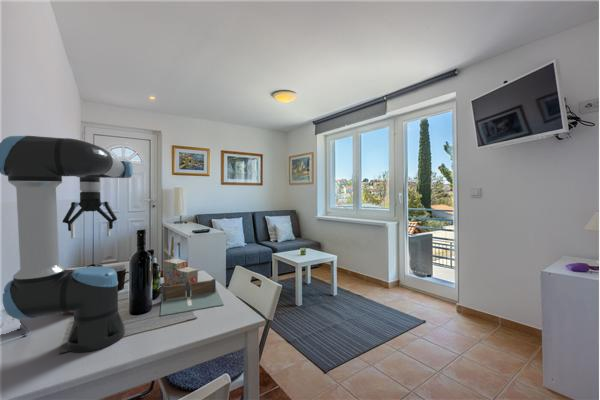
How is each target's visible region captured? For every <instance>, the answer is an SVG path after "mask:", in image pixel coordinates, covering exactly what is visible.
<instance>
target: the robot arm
mask: <svg viewBox="0 0 600 400" xmlns="http://www.w3.org/2000/svg"><path fill="white" fill-rule="evenodd" d="M0 174H1V175H2V176H7V179H8V181H7V182H8V183H9V184H11V185H12V186H14V187H15V190H16V209H17V210H16V212H17V228H18V229H17V230H18V231H17V232H18V234H17V235H18V252H19V270H17V272H16V273H14V274H13V276H12V280H10V281H8V282H7V283H6V284H5V286H4V288H3V291H4V293H3V294H2V305H3V309H4V311H5V312H6V313H7V315H8V316H9V317H11V318H14V319H16V320H22V319H36V318H40V317H47V316H53V315H59V314H62V313H68V312H73V313H74V314H73V323H72V325H71V328H70V332H69V335H68V336H67V341H66V348H67V350H68V351H69V352H71V353H86V352H92V351H98V350H100V349H103V348H107V347H109V346H111V345H114V343H116V342H118V341H120V340H121V339H122V338H124V336H125V332H126V328H125V327H126V326H125V324H124V323H125V322H124V321H123V319H122V317H121V315H120V312H119V293H118V292H119V291H118V281H117V273H116V271H115V270H114V269H112V268H113V267H108V266H103V267H99V266H94V267H92V266H90V267H87V266H85V267H83V266H82V267H79V268H76V270H75V269H73V270H74V271H73V273H72V274H66V270H67V269H66V267H65V266H64V265H62V264H60V257H59V256H60V255H59V254H60V252H59V232H58V213H57V212H58V207H57V206H58V205H57V191H56V190H57V187H58V186H60V184H62V183H63V177H76V178H79V191H80V192H79V202H76V201H71V204H70V208H69V209H68V210H67V212H66V214H65V216H64V217H63V220H62V223H65V224H66V225H67V231H68V232H70V239H75V238H76V224H75V223H74V222H75V221H76V220H77V219H79V217H80V216H81V215H83V213H84V212H86V213H87V212H98V213H99V214H100V215H101V216H102V217H103V218H104V219H105V220H106V221H107V222H106V237H111V230H112V229H113V228H114V224H113V223H114V222H116V221H118V218H117V216H116V215H115V213H114V211H113V210H112V208H111V207H110V203H109V201H103V202H102V201H101V192H100V191H101V179H102V178H103V179H106V178H108V179H109V178H112V179H129V178H132V177H133V164H132V162H131V161H125V160H122V161H121V160H119V159H116V158H114V157H113V156H112V155H111V153H110V152H109V151H108V150H107V149H105V148H102V147H101V146H99V145H97V144H93V143H91V142H88V141H84V140H81V139H77V138H76V139H75V138H70V137H69V138H68V137H66V138H65V137H64V138H63V137H52V136H51V137H50V136H40V135H39V136H37V135H11V136H7V137H5V138H3V139H2V141H1V142H0ZM78 206H79V207H80V209H79V210H78V211H77V212H76V213H75V214H74V215H73V216H72V214H73V213H74V212H75V209H76V208H77V207H78ZM101 206H103V207H105V210H106V211H107V212H108V214H109V215H108V214H107V213H106V212H105V211H104V210H103V208H101Z"/></svg>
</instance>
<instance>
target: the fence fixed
mask: <svg viewBox="0 0 600 400" xmlns="http://www.w3.org/2000/svg"><path fill="white" fill-rule="evenodd" d="M186 286H187V297H190V281H187V282H186V284H180V285H172V286H171V285H162V291H161V293H162V294H163V301H166V299H173V298H179V297H186ZM162 294H161V295H162Z"/></svg>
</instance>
